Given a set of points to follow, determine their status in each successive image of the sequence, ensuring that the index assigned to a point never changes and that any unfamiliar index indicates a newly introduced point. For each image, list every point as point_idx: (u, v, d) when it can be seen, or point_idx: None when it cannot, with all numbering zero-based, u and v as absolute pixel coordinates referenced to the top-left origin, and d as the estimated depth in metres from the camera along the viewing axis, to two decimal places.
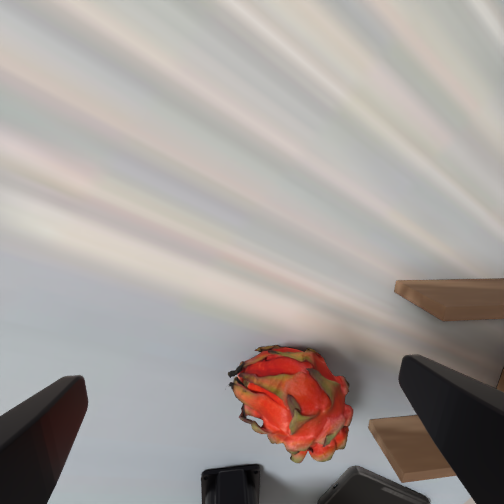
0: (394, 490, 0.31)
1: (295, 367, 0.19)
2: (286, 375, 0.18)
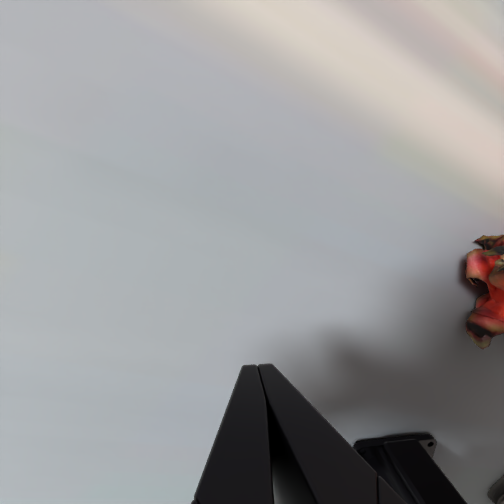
0: None
1: None
2: None
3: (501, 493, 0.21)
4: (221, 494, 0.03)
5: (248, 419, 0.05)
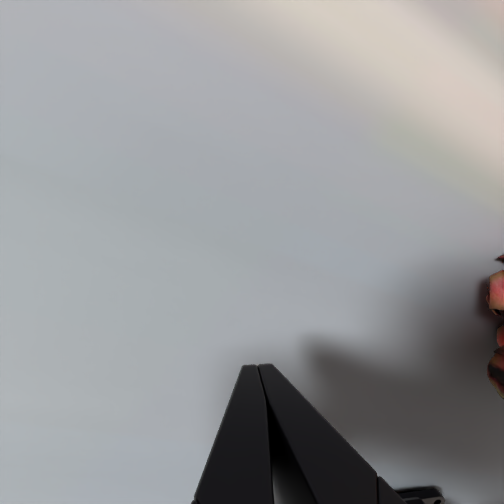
0: None
1: None
2: None
3: None
4: (221, 494, 0.03)
5: (248, 419, 0.05)
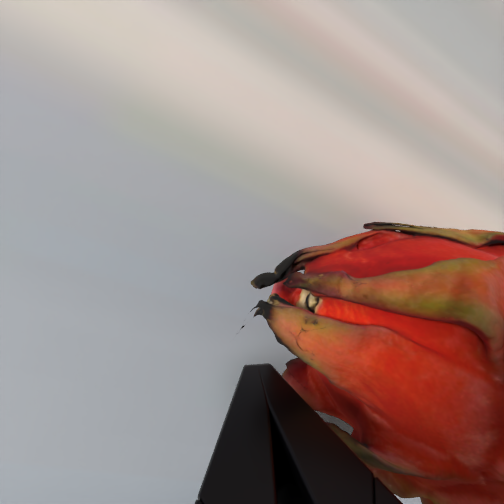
0: None
1: (472, 253, 0.06)
2: (472, 260, 0.05)
3: None
4: (225, 494, 0.03)
5: (250, 419, 0.05)
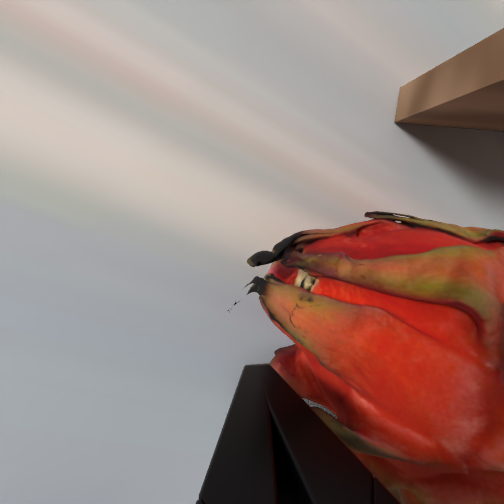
0: None
1: (471, 246, 0.06)
2: (472, 247, 0.05)
3: None
4: (226, 493, 0.03)
5: (251, 419, 0.05)
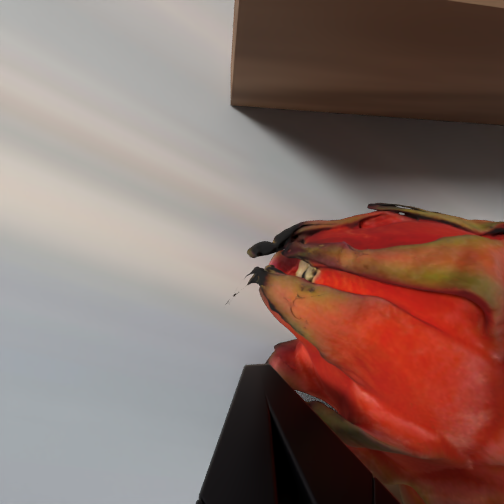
0: None
1: None
2: (478, 237, 0.05)
3: None
4: (226, 494, 0.03)
5: (251, 419, 0.05)
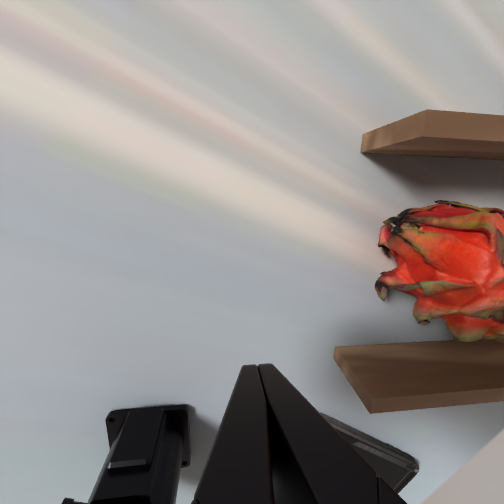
0: (370, 446, 0.24)
1: None
2: (485, 212, 0.14)
3: None
4: (221, 494, 0.03)
5: (248, 419, 0.05)
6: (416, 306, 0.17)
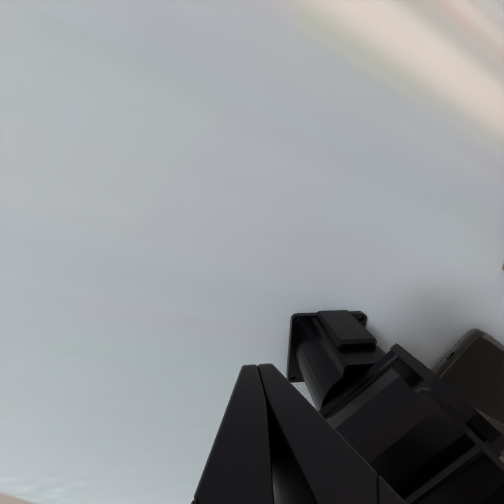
0: None
1: None
2: None
3: None
4: (221, 494, 0.03)
5: (248, 419, 0.05)
6: None
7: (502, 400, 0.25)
